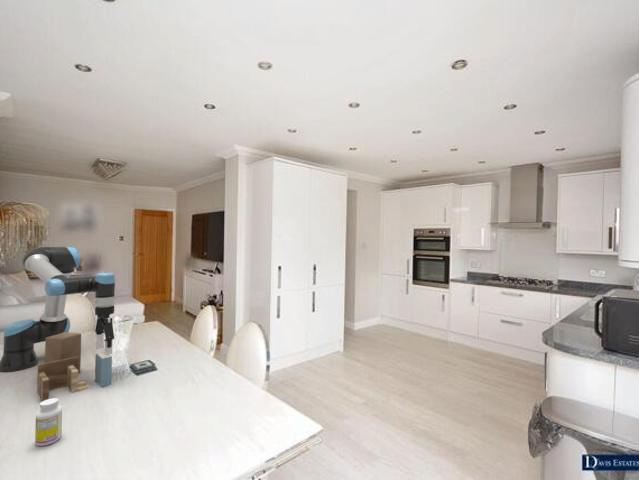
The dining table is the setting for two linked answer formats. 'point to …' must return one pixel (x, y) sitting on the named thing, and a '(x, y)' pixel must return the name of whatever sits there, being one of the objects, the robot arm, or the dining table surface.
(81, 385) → the bookend
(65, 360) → the shelf corner
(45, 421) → the supplement bottle
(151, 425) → the dining table surface
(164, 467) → the dining table surface
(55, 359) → the wooden block
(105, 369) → the book box
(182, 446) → the dining table surface
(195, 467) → the dining table surface
